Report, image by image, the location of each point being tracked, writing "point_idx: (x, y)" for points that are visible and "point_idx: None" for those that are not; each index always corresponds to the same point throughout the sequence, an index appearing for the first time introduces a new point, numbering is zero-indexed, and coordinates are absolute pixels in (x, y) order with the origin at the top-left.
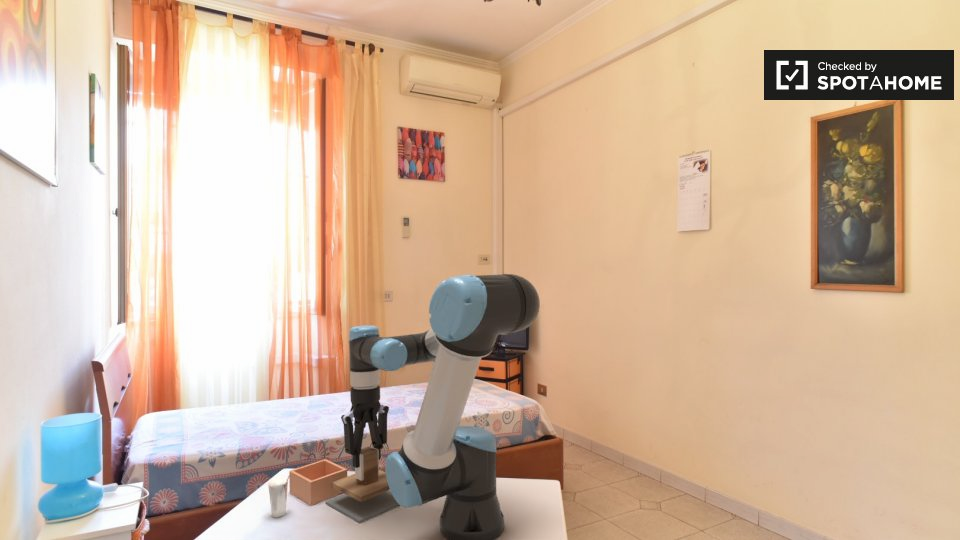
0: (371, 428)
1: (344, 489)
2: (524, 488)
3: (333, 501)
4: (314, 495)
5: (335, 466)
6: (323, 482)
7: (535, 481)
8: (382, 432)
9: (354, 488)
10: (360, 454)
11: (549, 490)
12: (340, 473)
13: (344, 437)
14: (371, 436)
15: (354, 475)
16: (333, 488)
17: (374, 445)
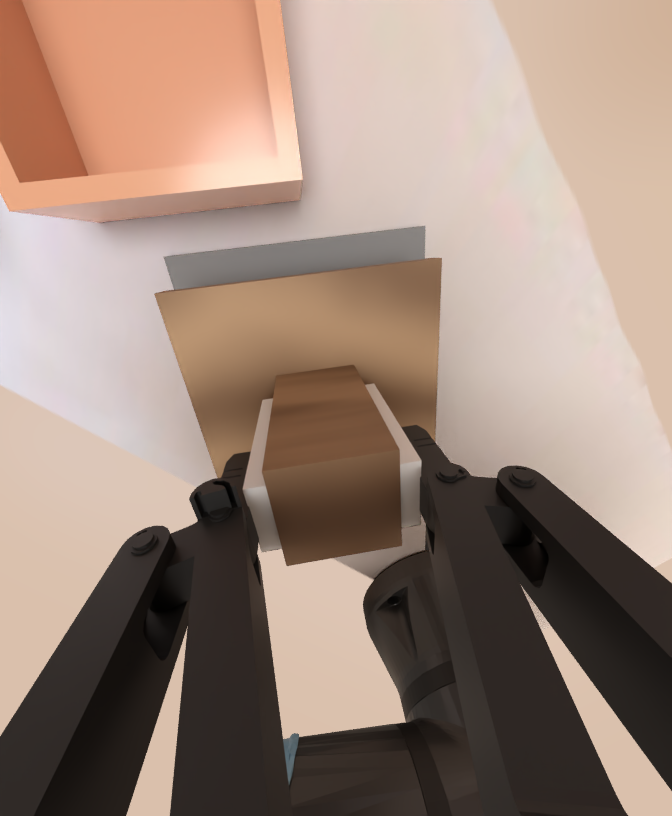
0: (477, 717)
1: (196, 412)
2: (640, 537)
3: (197, 283)
4: (95, 216)
5: (257, 15)
6: (127, 203)
7: None
8: (555, 621)
9: (237, 437)
10: (265, 541)
11: (651, 565)
12: (249, 186)
13: (5, 735)
14: (446, 560)
15: (303, 295)
16: (212, 204)
17: (427, 502)
